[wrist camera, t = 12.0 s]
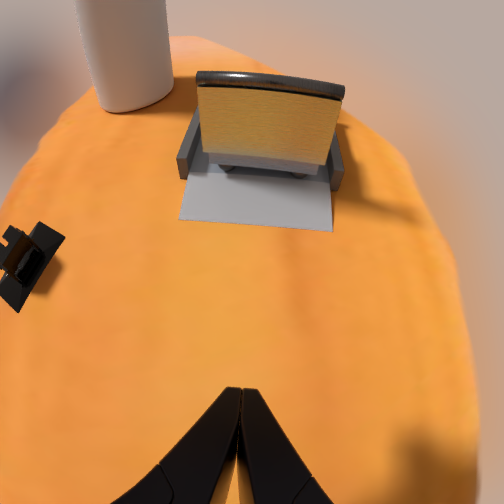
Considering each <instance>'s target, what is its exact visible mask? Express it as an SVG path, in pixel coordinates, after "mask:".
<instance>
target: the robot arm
mask: <svg viewBox="0 0 504 504" xmlns="http://www.w3.org/2000/svg"><path fill="white" fill-rule="evenodd" d="M241 396H242V398H241ZM240 408H241V410H240ZM239 421H240V422H239ZM238 433H239V435H238ZM237 445H238V447H237ZM236 456H237V473H238V487H239V499H240V504H334V503H333V502H332V501H331V500H330V498H329V497H328V496H327V494H326V493H325V492H324V491H323V489H322V488H321V487H320V485H319V484H318V482H317V481H316V479H315V478H314V477H312V474H311V472H310V471H309V469H308V468H307V466H306V465H305V464H304V462H303V461H302V459H301V458H300V456H299V454H298V453H297V451H296V450H295V448H294V447H293V445H292V444H291V442H290V441H289V439H288V438H287V436H286V434H285V433H284V431H283V430H282V428H281V426H280V425H279V423H278V422H277V420H276V418H275V417H274V415H273V414H272V412H271V410H270V409H269V407H268V405H267V404H266V402H265V400H264V399H263V397H262V395H261V394H260V392H259V391H258V390H257V389H252V388H243V389H241V388H239V387H226V388H225V389H224V390H223V392H222V393H221V394H220V395H219V396H218V397H217V399H216V400H215V401H214V402H213V403H212V404H211V406H210V407H209V408H208V409H207V410H206V411H205V413H204V414H203V415H202V416H201V417H200V418H199V419H198V421H197V422H196V423H195V424H194V425H193V426H192V427H191V428H190V429H189V431H188V432H187V433H186V434H185V435H184V436H183V437H182V438H181V439H180V440H179V442H178V443H177V444H176V445H175V446H174V447H173V448H172V449H171V450H170V451H169V452H168V453H167V454H166V455H165V456H164V458H163V459H162V460H161V461H160V462H159V464H157V465H156V466H155V467H154V468H153V469H152V470H151V471H150V472H149V473H148V474H147V475H146V476H145V477H144V478H142V479H141V480H140V481H139V482H138V483H137V484H136V485H135V486H134V487H132V488H131V489H130V490H128V491H127V492H126V493H124V494H123V495H122V496H120V497H119V498H118V499H116V500H115V501H113V502H112V503H110V504H225V503H226V499H227V495H228V491H229V487H230V483H231V479H232V475H233V471H234V467H235V462H236Z"/></svg>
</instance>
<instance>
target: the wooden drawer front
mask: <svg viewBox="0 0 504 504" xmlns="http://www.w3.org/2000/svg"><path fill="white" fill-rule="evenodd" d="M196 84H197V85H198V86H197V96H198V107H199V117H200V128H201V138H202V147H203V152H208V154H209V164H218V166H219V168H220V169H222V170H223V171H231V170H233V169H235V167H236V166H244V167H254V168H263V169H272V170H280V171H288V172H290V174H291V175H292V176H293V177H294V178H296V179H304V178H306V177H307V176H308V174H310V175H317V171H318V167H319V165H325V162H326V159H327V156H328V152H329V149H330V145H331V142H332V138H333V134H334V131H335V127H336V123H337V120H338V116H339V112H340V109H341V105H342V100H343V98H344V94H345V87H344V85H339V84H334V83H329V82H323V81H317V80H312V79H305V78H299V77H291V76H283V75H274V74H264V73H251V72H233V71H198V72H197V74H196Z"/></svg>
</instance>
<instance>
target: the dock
mask: <svg viewBox="0 0 504 504" xmlns="http://www.w3.org/2000/svg"><path fill="white" fill-rule="evenodd" d="M176 160H177V165H178V170H179V175H180V179H187V183H186V187H185V192H184V196H183V201H182V205H181V210H180V215H179V220H192V221H207V222H221V223H235V224H248V225H261V226H273V227H285V228H296V229H308V230H318V231H329V232H333V227H332V209H331V194H330V190H333V191H337V190H338V188H339V185H340V182H341V180H342V177H343V174H344V167H343V162H342V158H341V153H340V149H339V144H338V140H337V136H336V132H335V131H334V134H333V138H332V142H331V145H330V149H329V152H328V156H327V159H326V162H325V165H319V167H318V171H317V175H310V174H308V176H307V177H306V178H304V179H296V178H294V177H293V176H292V175H291V174H290V172H288V171H280V170H272V169H263V168H254V167H244V166H236V167H235V169H233V170H231V171H223V170H222V169H220V168H219V166H218V164H209V154H208V152H203V147H202V138H201V128H200V117H199V107H198V106H197V108H196V111H195V113H194V115H193V118H192V120H191V122H190V125H189V127H188V130H187V132H186V135H185V137H184V140H183V142H182V145H181V147H180V150H179V152H178V155H177V158H176Z"/></svg>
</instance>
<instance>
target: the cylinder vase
mask: <svg viewBox="0 0 504 504" xmlns="http://www.w3.org/2000/svg"><path fill="white" fill-rule="evenodd" d="M74 5H75V10H76V15H77V20H78V25H79V30H80V34H81V38H82V43H83V47H84V51H85V55H86V59H87V63H88V67H89V70H90V74H91V77H92V81H93V85H94V88H95V91H96V95H97V98H98V101H99V104H100V106H101V108H102V109H104V110H106V111H108V112H116V113H119V112H128V111H133V110H137V109H140V108H143V107H146V106H149V105H151V104H153V103H155V102H157V101H159V100H160V99H162V98H163V97H165V96H166V95H167V94H168V93H169V92H170V91H171V90H172V88H173V85H174V78H173V70H172V61H171V53H170V44H169V34H168V25H167V14H166V1H165V0H74Z"/></svg>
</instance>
